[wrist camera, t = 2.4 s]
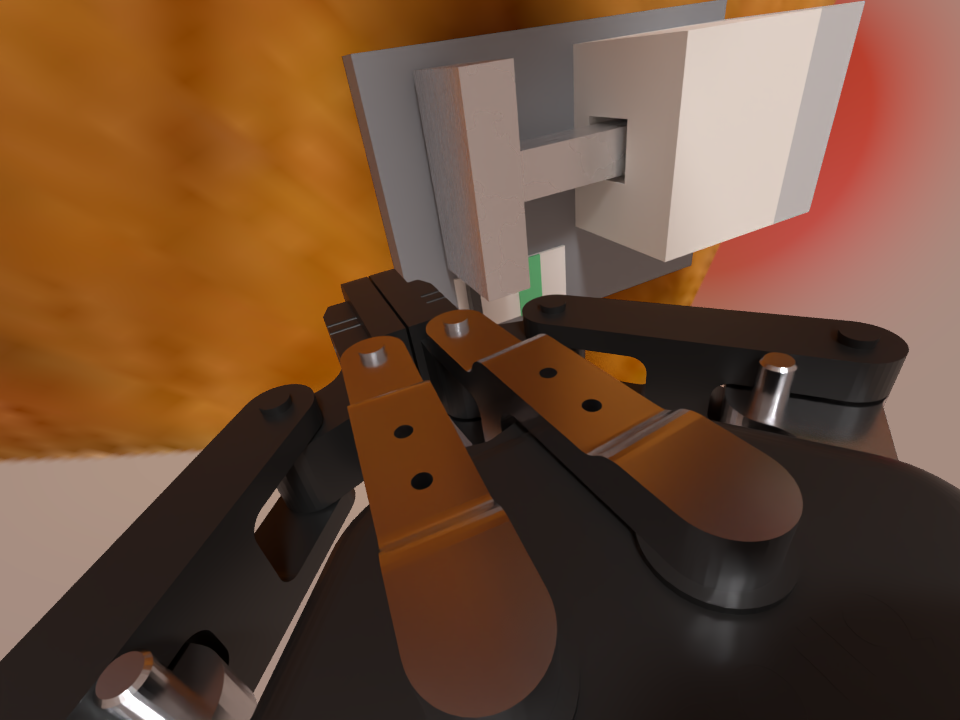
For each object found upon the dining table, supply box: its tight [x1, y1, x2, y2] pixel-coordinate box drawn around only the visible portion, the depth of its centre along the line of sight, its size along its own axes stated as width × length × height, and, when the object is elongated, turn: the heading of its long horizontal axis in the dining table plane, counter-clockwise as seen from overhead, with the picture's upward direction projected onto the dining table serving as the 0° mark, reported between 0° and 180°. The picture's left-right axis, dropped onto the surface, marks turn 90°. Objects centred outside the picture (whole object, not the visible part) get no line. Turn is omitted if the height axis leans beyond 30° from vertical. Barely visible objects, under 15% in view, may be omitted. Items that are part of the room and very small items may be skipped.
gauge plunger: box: [413, 58, 628, 314], centre depth 26 cm, size 16×11×6 cm
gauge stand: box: [342, 0, 865, 324], centre depth 27 cm, size 17×23×10 cm
